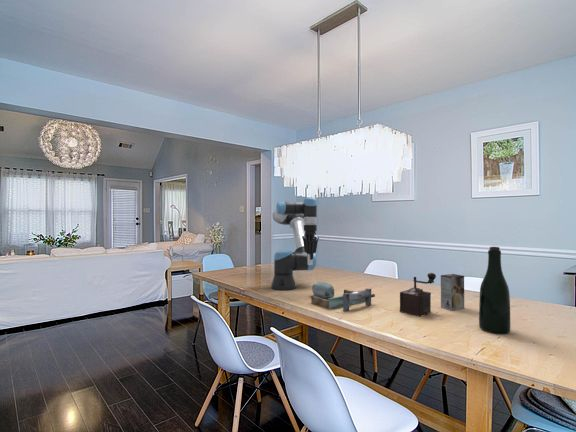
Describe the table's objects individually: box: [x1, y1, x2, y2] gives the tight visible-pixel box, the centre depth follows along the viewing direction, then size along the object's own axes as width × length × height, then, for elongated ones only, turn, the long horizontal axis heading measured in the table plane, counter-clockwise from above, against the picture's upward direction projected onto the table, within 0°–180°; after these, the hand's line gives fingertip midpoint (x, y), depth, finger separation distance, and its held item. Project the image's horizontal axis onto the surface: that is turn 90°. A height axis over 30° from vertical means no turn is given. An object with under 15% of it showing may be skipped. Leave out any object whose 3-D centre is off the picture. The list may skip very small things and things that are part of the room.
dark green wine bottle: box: [478, 246, 511, 335], centre depth 127 cm, size 10×10×33 cm
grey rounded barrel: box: [311, 281, 335, 300], centre depth 178 cm, size 14×10×10 cm
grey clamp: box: [342, 288, 376, 312], centre depth 159 cm, size 4×21×8 cm, turn 126°
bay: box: [310, 288, 365, 310], centre depth 169 cm, size 14×26×5 cm, turn 126°
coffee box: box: [440, 273, 465, 311], centre depth 158 cm, size 9×6×16 cm
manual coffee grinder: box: [399, 272, 437, 317], centre depth 153 cm, size 16×11×18 cm
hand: (310, 264), depth 187 cm, fingers closed
